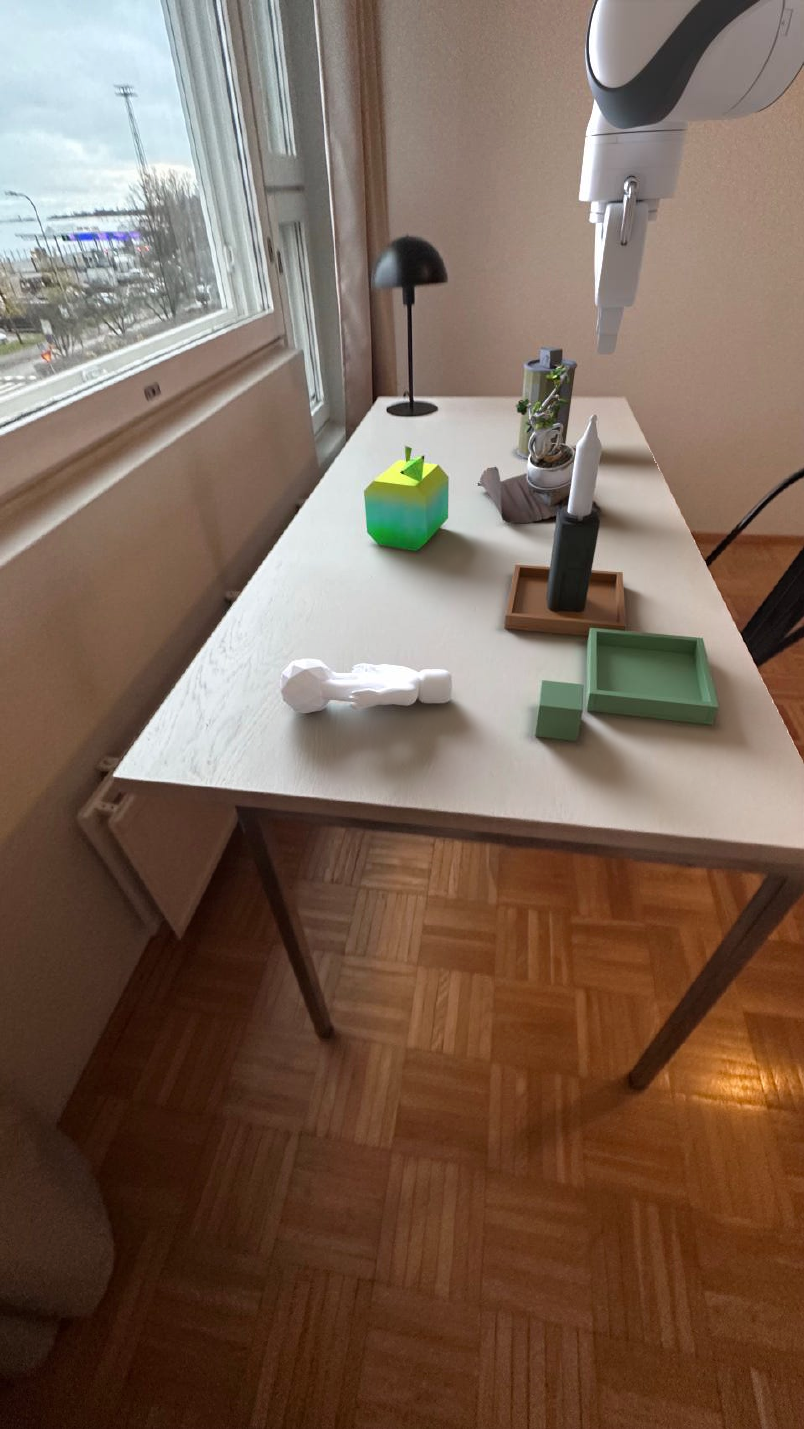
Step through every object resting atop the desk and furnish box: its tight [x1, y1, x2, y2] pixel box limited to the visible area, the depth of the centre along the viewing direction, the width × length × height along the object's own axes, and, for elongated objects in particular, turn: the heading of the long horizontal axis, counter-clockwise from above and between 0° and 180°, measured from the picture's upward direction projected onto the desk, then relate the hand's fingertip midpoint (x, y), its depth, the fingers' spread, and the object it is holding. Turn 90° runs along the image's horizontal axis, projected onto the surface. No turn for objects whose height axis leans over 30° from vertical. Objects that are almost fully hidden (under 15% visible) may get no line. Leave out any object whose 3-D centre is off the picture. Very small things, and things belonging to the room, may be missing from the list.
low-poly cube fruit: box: [363, 445, 450, 552], centre depth 104 cm, size 11×10×15 cm
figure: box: [278, 658, 453, 714], centre depth 73 cm, size 11×6×20 cm
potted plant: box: [477, 364, 602, 525], centre depth 111 cm, size 20×19×25 cm
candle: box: [546, 414, 603, 612], centre depth 81 cm, size 5×5×25 cm
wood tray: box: [503, 564, 627, 637], centre depth 89 cm, size 16×15×2 cm
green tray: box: [585, 628, 719, 726], centre depth 76 cm, size 14×14×3 cm
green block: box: [534, 679, 584, 742], centre depth 70 cm, size 4×4×4 cm
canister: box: [516, 345, 578, 460], centre depth 131 cm, size 11×10×20 cm
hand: (604, 343), depth 68 cm, fingers open, 8 cm apart
